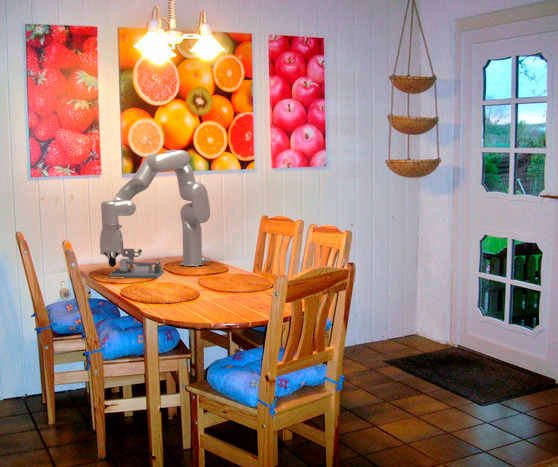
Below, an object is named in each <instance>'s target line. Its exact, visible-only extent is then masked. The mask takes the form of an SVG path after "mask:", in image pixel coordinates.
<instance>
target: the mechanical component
mask: <svg viewBox="0 0 558 467" xmlns="http://www.w3.org/2000/svg"><path fill="white" fill-rule="evenodd" d="M142 252H143V250H142V248H138V249H137V251H136V250H135V248H123V254H121V256H122V257H124V258H128V259H133V261H129V262H134V261H135V258H138V257H140V256H141V254H142ZM135 254H138V255H135ZM130 268H133V269H134V264H129V269H130Z"/></svg>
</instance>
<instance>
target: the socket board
mask: <svg viewBox="0 0 558 467" xmlns="http://www.w3.org/2000/svg"><path fill="white" fill-rule="evenodd" d="M164 272H165V270H164V269H162V264H160V265H158V266H156V265H154V268H152V272H150V273H149V274H134V268H133V269H130V268H129V271H120V268H115V269H114V270H112V271H111V273H110V274H108V278H109V277H124V278H123V279H125V278H151V280H152V279H153V280H155V279H156V280H158V278H159V277H160V276H161V275H163V274H164Z"/></svg>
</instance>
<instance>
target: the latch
mask: <svg viewBox="0 0 558 467" xmlns="http://www.w3.org/2000/svg"><path fill="white" fill-rule="evenodd" d="M130 261H133V262H134V260H133V259H129V258H121V259H119V269H120V271H129V269H130V264H128V262H130Z"/></svg>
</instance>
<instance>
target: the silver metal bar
mask: <svg viewBox="0 0 558 467" xmlns="http://www.w3.org/2000/svg"><path fill="white" fill-rule="evenodd" d="M128 264H129V265H130V264H133V265H136V264H140V265H152V266H158V265H161V262H160V261H155V262H151V261H133V262H130V261H128Z"/></svg>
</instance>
